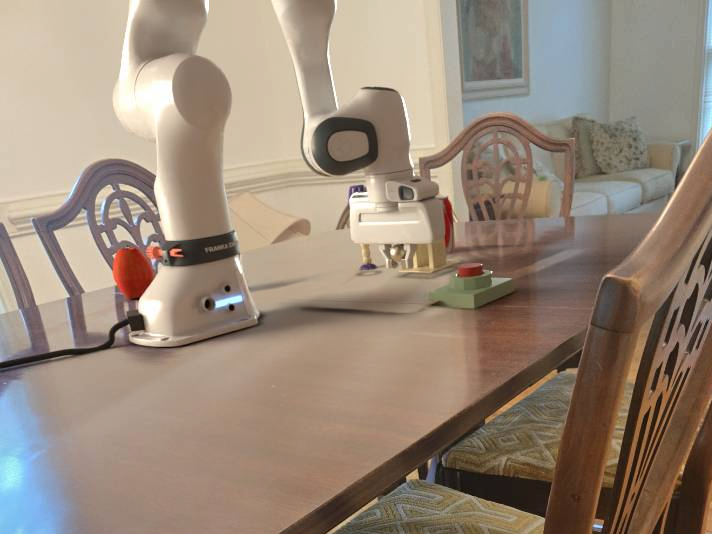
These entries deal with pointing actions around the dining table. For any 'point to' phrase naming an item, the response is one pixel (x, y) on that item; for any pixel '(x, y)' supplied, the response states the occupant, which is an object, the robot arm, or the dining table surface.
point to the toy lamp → (365, 247)
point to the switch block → (471, 290)
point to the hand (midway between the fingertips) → (400, 268)
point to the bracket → (430, 258)
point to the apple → (132, 272)
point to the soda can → (448, 223)
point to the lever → (398, 252)
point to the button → (470, 270)
